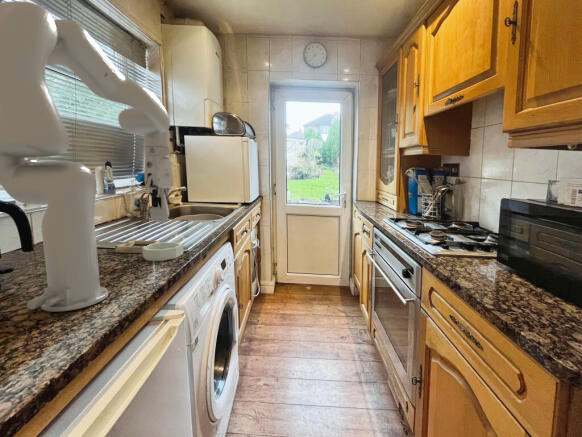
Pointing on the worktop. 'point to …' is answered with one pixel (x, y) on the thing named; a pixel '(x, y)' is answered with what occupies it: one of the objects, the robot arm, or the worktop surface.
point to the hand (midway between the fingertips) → (159, 208)
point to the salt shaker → (162, 213)
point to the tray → (129, 249)
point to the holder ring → (162, 251)
